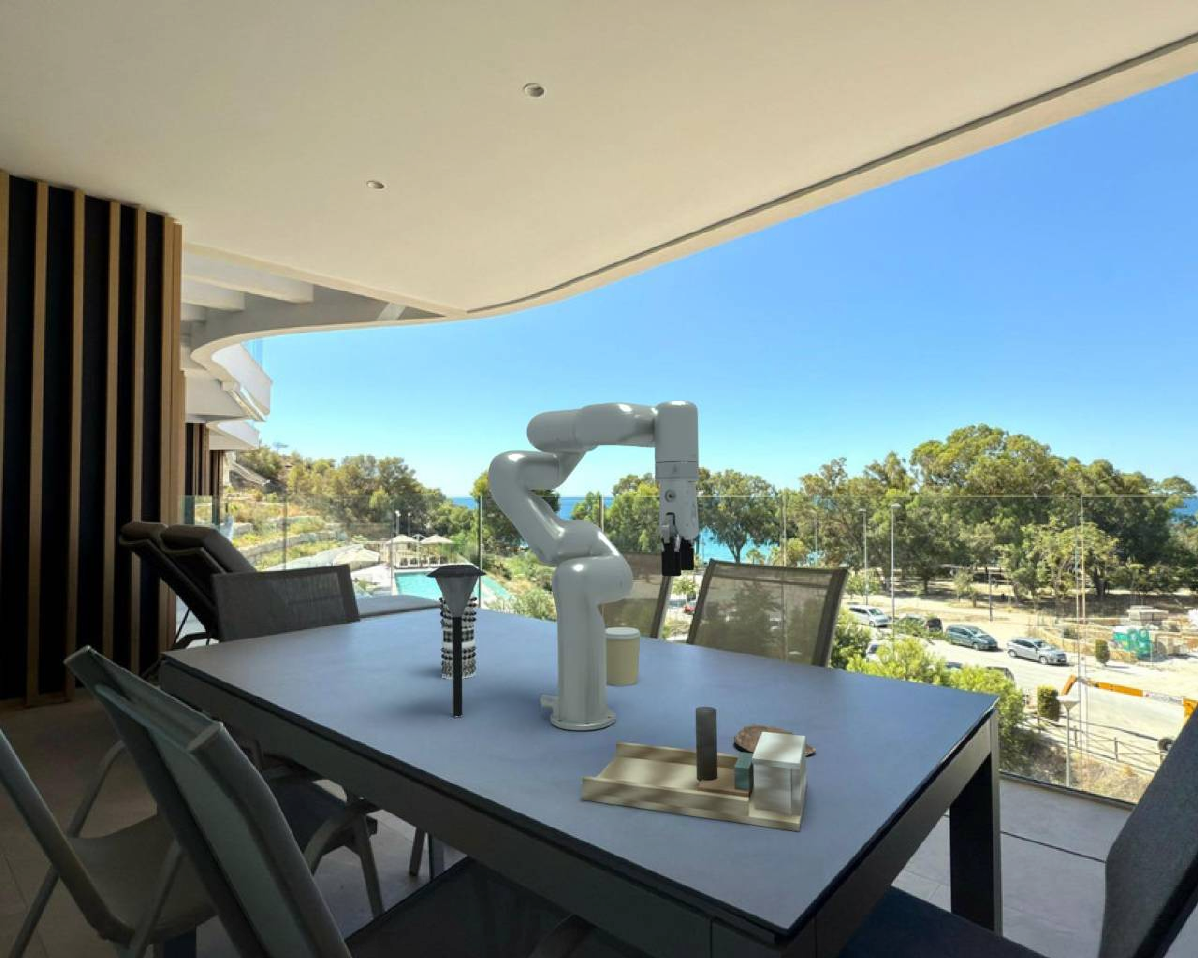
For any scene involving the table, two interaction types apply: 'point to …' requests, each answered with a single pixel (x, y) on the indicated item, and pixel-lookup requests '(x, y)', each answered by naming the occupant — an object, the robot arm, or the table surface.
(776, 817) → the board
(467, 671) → the decorative candle
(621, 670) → the coffee cup
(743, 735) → the shell
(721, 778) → the kicker
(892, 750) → the table surface
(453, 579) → the solar garden light
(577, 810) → the table surface
